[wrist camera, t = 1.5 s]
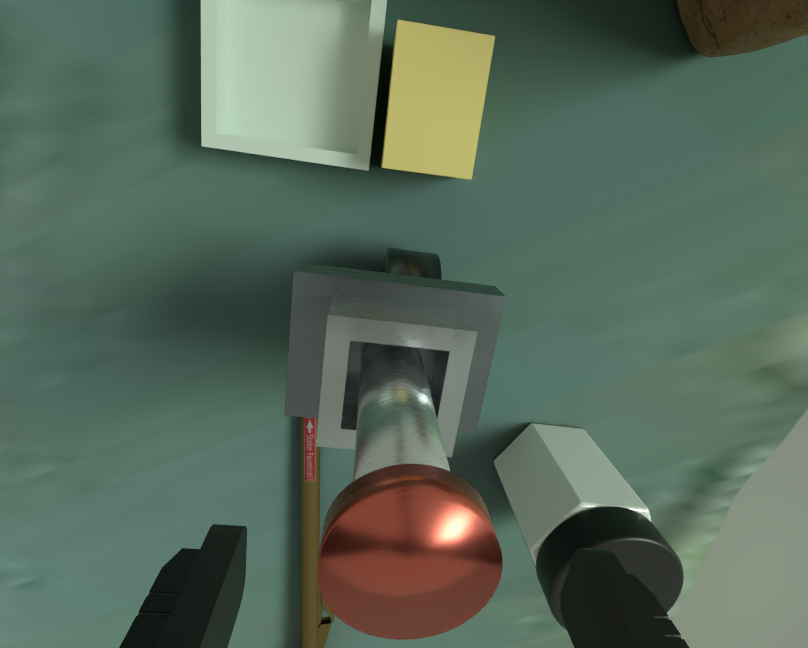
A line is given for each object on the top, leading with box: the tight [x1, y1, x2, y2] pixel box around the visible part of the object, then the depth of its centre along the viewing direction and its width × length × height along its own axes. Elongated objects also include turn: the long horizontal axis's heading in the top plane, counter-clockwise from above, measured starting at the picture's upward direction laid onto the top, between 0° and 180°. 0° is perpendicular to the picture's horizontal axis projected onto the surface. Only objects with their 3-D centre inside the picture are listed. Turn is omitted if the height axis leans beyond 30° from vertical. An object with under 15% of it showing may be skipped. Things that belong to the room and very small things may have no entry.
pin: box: [317, 343, 502, 640], centre depth 16 cm, size 4×4×12 cm
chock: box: [381, 20, 495, 180], centre depth 26 cm, size 7×5×5 cm
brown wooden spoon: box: [300, 417, 334, 648], centre depth 38 cm, size 5×35×5 cm
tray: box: [201, 0, 387, 171], centre depth 26 cm, size 10×10×2 cm
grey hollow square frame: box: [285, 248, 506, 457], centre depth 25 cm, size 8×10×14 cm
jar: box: [494, 423, 684, 630], centre depth 32 cm, size 9×8×12 cm
